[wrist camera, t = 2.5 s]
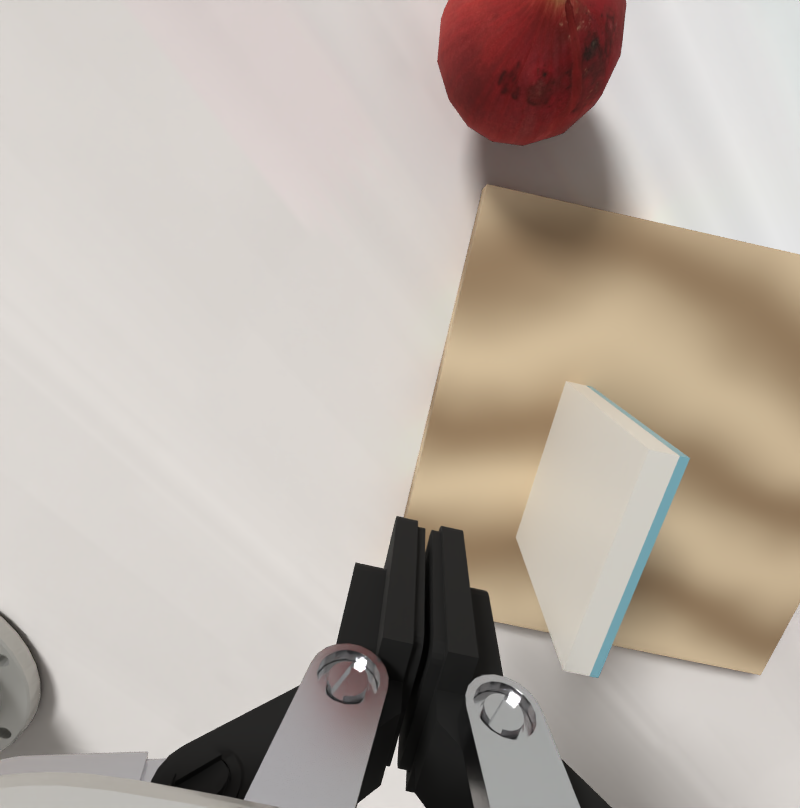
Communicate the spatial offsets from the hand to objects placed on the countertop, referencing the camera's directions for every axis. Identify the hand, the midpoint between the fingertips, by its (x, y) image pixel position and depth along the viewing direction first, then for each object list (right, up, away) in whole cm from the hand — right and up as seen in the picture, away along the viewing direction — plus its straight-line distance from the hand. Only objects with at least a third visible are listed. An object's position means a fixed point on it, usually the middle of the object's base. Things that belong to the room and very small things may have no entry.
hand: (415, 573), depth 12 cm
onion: (+4, +17, +8) cm, 19 cm away
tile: (+7, +1, +11) cm, 13 cm away
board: (+11, +2, +12) cm, 16 cm away
